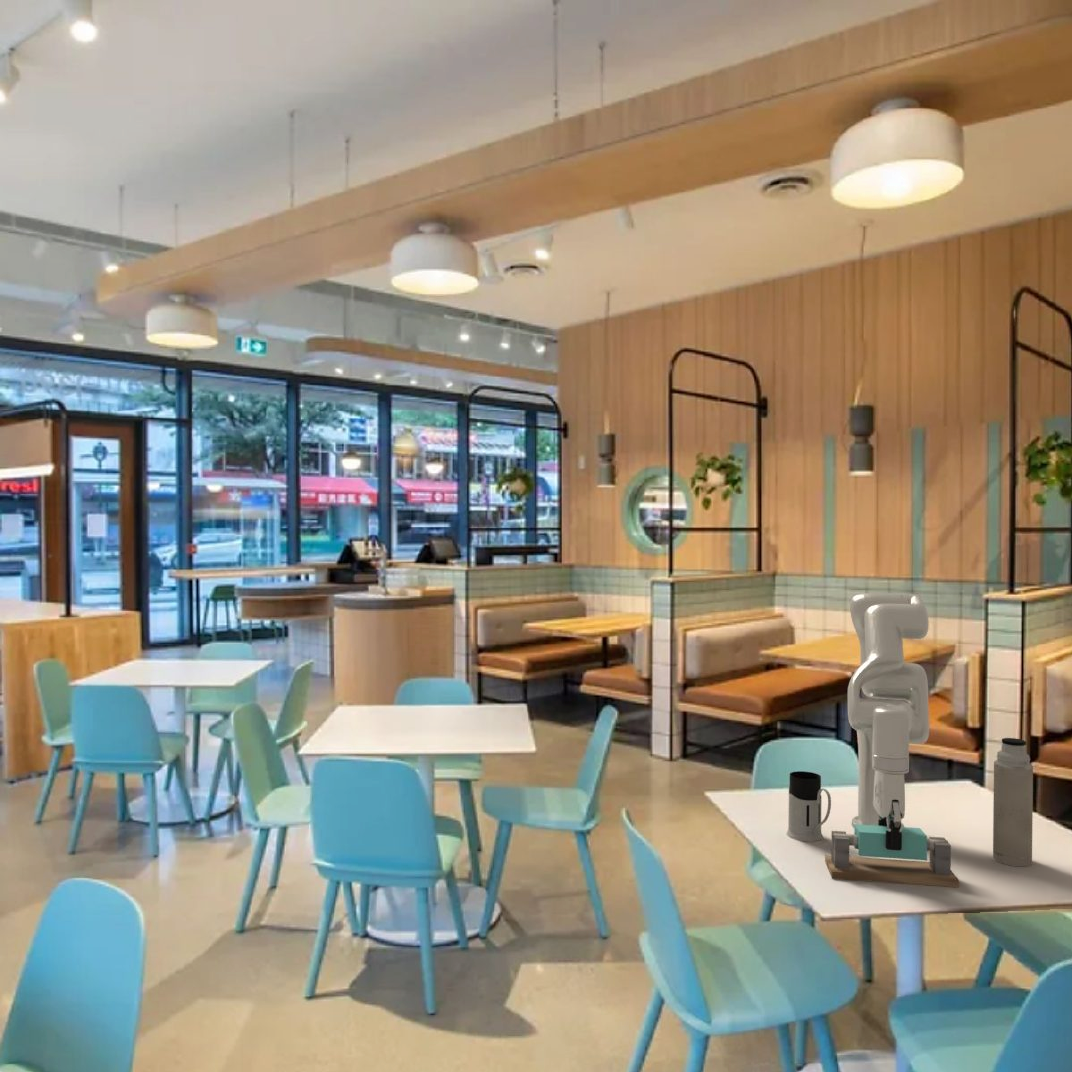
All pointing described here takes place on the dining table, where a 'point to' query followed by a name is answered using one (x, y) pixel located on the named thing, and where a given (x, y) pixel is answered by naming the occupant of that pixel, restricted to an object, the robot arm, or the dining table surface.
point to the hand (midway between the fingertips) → (889, 842)
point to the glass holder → (806, 806)
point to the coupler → (875, 842)
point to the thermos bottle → (1013, 804)
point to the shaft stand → (891, 864)
